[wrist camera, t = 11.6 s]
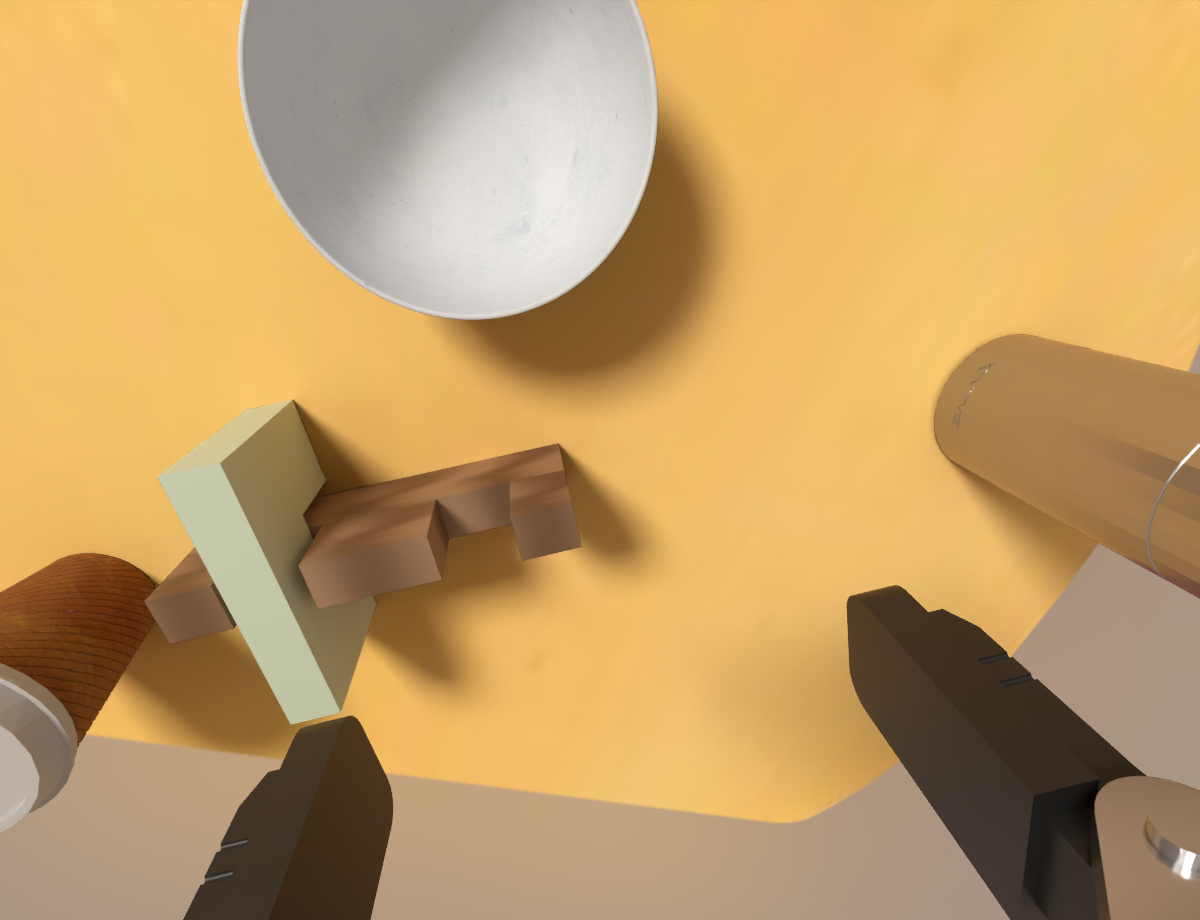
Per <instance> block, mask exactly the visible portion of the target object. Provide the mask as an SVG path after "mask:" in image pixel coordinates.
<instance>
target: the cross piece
mask: <svg viewBox="0 0 1200 920" xmlns="http://www.w3.org/2000/svg"><path fill="white" fill-rule="evenodd" d="M157 477H158V479H159V481H160V483H161V485H162V486H163V488H164V490H165V492H166V494H167V496H168V498H169V499H170V501H171V503H172V505H173V507H174V509H175V511H176V512H177V514H178V516H179V518H180V520H181V522H182V524H183V525H184V527H185V529H186V531H187V533H188V535H189V537H190V538H191V540H192V542H193V544H194V546H195V548H196V550H197V551H198V553H199V555H200V557H201V559H202V561H203V563H204V564H205V566H206V568H207V570H208V572H209V574H210V576H211V577H212V579H213V581H214V583H215V585H216V587H217V589H218V590H219V592H220V594H221V596H222V598H223V600H224V602H225V603H226V605H227V607H228V609H229V611H230V613H231V615H232V616H233V618H234V620H235V622H236V624H237V626H238V628H239V629H240V631H241V633H242V635H243V637H244V639H245V641H246V642H247V644H248V646H249V648H250V650H251V652H252V654H253V655H254V657H255V659H256V661H257V663H258V665H259V667H260V668H261V670H262V672H263V674H264V676H265V678H266V680H267V681H268V683H269V685H270V687H271V689H272V691H273V693H274V695H275V696H276V698H277V700H278V702H279V704H280V706H281V708H282V709H283V711H284V713H285V715H286V717H287V719H288V721H289V722H290V724H291V725H292V724H296V723H300V722H304V721H308V720H312V719H316V718H320V717H324V716H328V715H332V714H336V713H341V710H342V707H343V704H344V701H345V698H346V695H347V692H348V689H349V686H350V683H351V680H352V677H353V674H354V671H355V668H356V665H357V662H358V659H359V656H360V653H361V650H362V647H363V644H364V641H365V638H366V635H367V632H368V629H369V626H370V623H371V620H372V617H373V614H374V611H375V608H376V605H377V604H376V601H375V599H374V597H373V596H371V597H366V598H362V599H358V600H354V601H349V602H345V603H341V604H337V605H332V606H328V607H324V608H320V609H318V607H317V605H316V603H315V601H314V599H313V597H312V594H311V592H310V590H309V588H308V586H307V584H306V581H305V579H304V577H303V575H302V573H301V571H300V569H299V564H300V562H301V561H302V559H303V557H304V555H305V554H306V552H307V550H308V549H309V547H310V545H311V544H312V542H313V537H312V535H311V533H310V531H309V528H308V526H307V524H306V522H305V519H304V517H303V514H304V512H305V511H306V509H307V508H308V506H309V505H310V503H311V502H312V500H313V499H314V497H315V496H316V495H317V493H318V492H319V490H320V489H321V487H322V486H323V484H324V483H325V481H326V479H325V477H324V474H323V472H322V470H321V467H320V465H319V462H318V460H317V457H316V455H315V452H314V450H313V448H312V445H311V443H310V440H309V438H308V435H307V433H306V430H305V428H304V426H303V423H302V421H301V418H300V416H299V413H298V411H297V409H296V406H295V404H294V401H293V400H289V401H284V402H280V403H275V404H270V405H265V406H261V407H256V408H251V409H247V410H245V411H244V412H243V413H241V414H240V415H239V416H237V417H236V418H235V419H233V420H232V421H231V422H229V423H228V424H227V425H225V426H224V427H223V428H221V429H220V430H219V431H217V432H216V433H215V434H213V435H212V436H211V437H209V438H208V439H207V440H205V441H204V442H203V443H201V444H200V445H199V446H197V447H196V448H195V449H193V450H192V451H191V452H189V453H188V454H187V455H185V456H184V457H183V458H181V459H180V460H179V461H177V462H176V463H175V464H173V465H172V466H171V467H169V468H168V469H167V470H165V471H164V472H163V473H161V474H160V475H159V476H157Z"/></svg>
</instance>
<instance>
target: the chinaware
mask: <svg viewBox="0 0 1200 920" xmlns="http://www.w3.org/2000/svg"><path fill="white" fill-rule="evenodd" d="M238 77H239V87H240V94H241V101H242V106H243V111H244V116H245V120H246V124H247V128H248V131H249V135H250V138H251V141H252V144H253V147H254V150H255V153H256V155H257V158H258V160H259V163H260V165H261V167H262V170H263V172H264V174H265V176H266V178H267V180H268V182H269V184H270V186H271V188H272V190H273V192H274V193H275V195H276V197H277V199H278V200H279V202H280V203H281V205H282V207H283V208H284V210H285V211H286V213H287V214H288V216H289V217H290V218H291V220H292V221H293V222H294V224H295V225H296V226H297V228H298V229H299V230H300V231H301V233H302V234H303V235H304V236H305V237H306V239H307V240H308V241H309V242H310V243H311V244H312V245H313V246H314V247H315V248H316V249H317V251H318V252H319V253H320V254H322V255H323V256H324V257H325V258H326V259H327V260H328V261H329V262H330V263H331V264H332V265H334V266H335V267H336V268H337V269H338V270H340V271H341V272H342V273H343V274H345V275H346V276H347V277H349V278H350V279H351V280H353V281H354V282H356V283H357V284H359V285H360V286H362V287H364V288H365V289H367V290H368V291H370V292H372V293H374V294H376V295H377V296H379V297H381V298H383V299H385V300H387V301H390V302H392V303H394V304H396V305H399V306H402V307H404V308H407V309H410V310H413V311H416V312H420V313H423V314H427V315H431V316H437V317H442V318H449V319H459V320H485V319H495V318H502V317H507V316H512V315H516V314H520V313H523V312H526V311H529V310H532V309H535V308H538V307H540V306H542V305H545V304H547V303H549V302H551V301H553V300H555V299H557V298H558V297H560V296H562V295H564V294H565V293H567V292H568V291H570V290H571V289H573V288H574V287H576V286H577V285H578V284H580V283H581V282H582V281H583V280H585V279H586V278H587V277H588V276H589V275H590V274H591V273H592V272H594V271H595V270H596V269H597V268H598V267H599V266H600V265H601V264H602V262H603V261H604V260H605V259H606V258H607V257H608V256H609V254H610V253H611V252H612V251H613V249H614V248H615V247H616V245H617V244H618V242H619V241H620V240H621V238H622V236H623V235H624V233H625V232H626V230H627V228H628V227H629V225H630V223H631V221H632V219H633V217H634V215H635V213H636V211H637V209H638V207H639V204H640V202H641V199H642V197H643V194H644V191H645V188H646V185H647V182H648V179H649V175H650V171H651V167H652V163H653V158H654V152H655V146H656V138H657V126H658V94H657V82H656V73H655V67H654V61H653V56H652V51H651V47H650V43H649V39H648V35H647V32H646V28H645V25H644V22H643V19H642V16H641V14H640V11H639V9H638V6H637V4H636V1H635V0H244V1H243V6H242V11H241V17H240V24H239V34H238Z"/></svg>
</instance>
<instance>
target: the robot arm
mask: <svg viewBox="0 0 1200 920" xmlns="http://www.w3.org/2000/svg"><path fill="white" fill-rule="evenodd" d="M934 428H935V434H936V439H937V441H938V444H939V446H940V448H941V450H942V451H943V452H944V453H945V455H946V456H947V457H948V458H949V459H950V460H952V461H953V462H955V463H957V464H958V465H960V466H962V467H963V468H965V469H967V470H969V471H971V472H972V473H974V474H976V475H978V476H980V477H981V478H983V479H985V480H987V481H989V482H991V483H992V484H994V485H996V486H997V487H999V488H1001V489H1002V490H1004V491H1006V492H1008V493H1010V494H1012V495H1013V496H1015V497H1017V498H1019V499H1021V500H1022V501H1024V502H1026V503H1028V504H1030V505H1031V506H1033V507H1035V508H1037V509H1039V510H1040V511H1042V512H1044V513H1046V514H1048V515H1049V516H1051V517H1053V518H1055V519H1057V520H1058V521H1060V522H1062V523H1064V524H1066V525H1067V526H1069V527H1071V528H1073V529H1075V530H1076V531H1078V532H1080V533H1082V534H1084V535H1085V536H1087V537H1089V538H1091V539H1093V540H1094V541H1096V542H1098V543H1100V544H1102V545H1104V546H1106V547H1107V548H1109V549H1111V550H1113V551H1115V552H1116V553H1118V554H1120V555H1122V556H1123V557H1125V558H1127V559H1129V560H1131V561H1133V562H1134V563H1136V564H1138V565H1140V566H1141V567H1143V568H1145V569H1147V570H1149V571H1150V572H1152V573H1154V574H1156V575H1158V576H1159V577H1162V578H1163V579H1165V580H1167V581H1169V582H1171V583H1173V584H1175V585H1176V586H1178V587H1180V588H1182V589H1184V590H1186V591H1187V592H1189V593H1191V594H1193V595H1194V596H1196V597H1198V598H1200V375H1199V374H1195V373H1191V372H1187V371H1182V370H1178V369H1174V368H1169V367H1165V366H1161V365H1157V364H1152V363H1148V362H1144V361H1139V360H1135V359H1131V358H1126V357H1122V356H1118V355H1114V354H1109V353H1105V352H1101V351H1096V350H1092V349H1089V348H1085V347H1080V346H1076V345H1072V344H1067V343H1063V342H1059V341H1054V340H1050V339H1046V338H1041V337H1037V336H1031V335H1024V334H1018V335H1009V336H1005V337H1002V338H999V339H996V340H993V341H991V342H989V343H987V344H985V345H983V346H982V347H980V348H978V349H977V350H976V351H974V352H973V353H972V354H971V355H969V356H968V357H967V358H966V359H965V360H964V361H963V362H962V363H961V364H960V365H959V366H958V367H957V368H956V369H955V370H954V372H953V373H952V375H951V376H950V378H949V379H948V381H947V382H946V384H945V386H944V388H943V390H942V392H941V395H940V397H939V399H938V403H937V407H936V411H935V423H934ZM847 623H848V645H849V666H850V674H851V678H852V682H853V685H854V688H855V691H856V693H857V696H858V698H859V700H860V702H861V704H862V706H863V707H864V709H865V710H866V712H867V713H868V715H869V716H870V718H871V719H872V721H873V722H874V723H875V725H876V726H877V728H878V729H879V731H880V732H881V734H882V735H883V736H884V738H885V739H886V741H887V742H888V744H889V745H890V746H891V748H892V749H893V751H894V752H895V754H896V755H897V757H898V758H899V759H900V761H901V762H902V764H903V765H904V767H905V768H906V770H907V771H908V772H909V774H910V775H911V777H912V778H913V780H914V781H915V782H916V784H917V785H918V787H919V788H920V790H921V791H922V793H923V794H924V796H925V797H926V798H927V800H928V801H929V803H930V804H931V806H932V807H933V809H934V810H935V811H936V813H937V814H938V816H939V817H940V818H941V820H942V821H943V823H944V824H945V826H946V827H947V829H948V830H949V832H950V833H951V834H952V836H953V837H954V839H955V840H956V842H957V843H958V845H959V846H960V847H961V849H962V850H963V852H964V853H965V855H966V856H967V858H968V859H969V860H970V862H971V863H972V865H973V866H974V868H975V869H976V870H977V872H978V873H979V875H980V876H981V878H982V879H983V880H984V882H985V883H986V885H987V886H988V888H989V889H990V891H991V892H992V893H993V895H994V896H995V898H996V899H997V901H998V902H999V904H1000V905H1001V907H1002V908H1003V909H1004V911H1005V912H1006V914H1007V915H1008V917H1009V918H1010V920H1200V790H1197V789H1194V788H1192V787H1189V786H1187V785H1184V784H1181V783H1177V782H1174V781H1171V780H1166V779H1161V778H1156V777H1147V776H1146V775H1145V774H1143V773H1142V772H1141V771H1140V770H1139V769H1137V768H1136V767H1135V766H1134V765H1133V764H1131V763H1130V762H1129V761H1128V760H1127V759H1126V758H1125V757H1123V755H1121V754H1120V753H1119V752H1118V751H1117V750H1116V749H1115V748H1114V747H1112V746H1111V745H1110V744H1109V743H1108V742H1107V741H1106V740H1105V739H1104V738H1102V737H1101V736H1100V735H1099V734H1098V733H1097V732H1095V730H1093V729H1092V728H1091V727H1090V726H1089V725H1088V724H1087V723H1086V722H1085V721H1083V720H1082V719H1081V718H1080V717H1079V716H1078V715H1076V713H1074V712H1073V711H1072V710H1071V709H1070V708H1069V707H1068V706H1067V705H1066V704H1064V703H1063V702H1062V701H1061V700H1060V699H1059V698H1058V697H1057V696H1055V695H1054V694H1053V693H1052V692H1051V691H1050V690H1049V689H1048V688H1047V687H1045V686H1044V685H1043V684H1042V683H1041V682H1040V681H1039V680H1038V679H1036V680H1034V679H1033V678H1032V676H1031V673H1030V672H1029V671H1027V670H1026V669H1025V668H1024V667H1023V666H1022V665H1021V664H1020V663H1019V662H1017V661H1016V660H1015V659H1014V658H1013V657H1011V658H1010V657H1009V656H1008V655H1007V652H1006V651H1005V650H1004V649H1003V648H1002V647H1001V646H1000V645H998V644H997V643H996V642H995V641H994V640H993V639H992V638H991V637H990V636H988V635H987V634H986V633H985V632H984V631H983V630H982V629H981V628H979V627H978V626H976V625H974V624H972V623H970V622H968V621H966V620H964V619H962V618H960V617H958V616H956V615H954V614H952V613H950V612H948V611H946V610H944V609H940V610H936V611H932V612H927V611H926V610H925V609H924V608H923V607H922V606H921V605H920V604H919V603H918V602H917V601H916V600H915V599H914V598H913V597H912V596H911V595H910V594H909V593H908V592H907V591H906V590H905V589H903V588H902V587H900V586H897V585H893V586H889V587H885V588H881V589H877V590H873V591H869V592H865V593H860V594H856V595H852V596H850V597H849V598H848V601H847ZM392 817H393V798H392V792H391V787H390V784H389V781H388V779H387V777H386V774H385V772H384V770H383V768H382V766H381V764H380V762H379V760H378V758H377V756H376V754H375V752H374V750H373V748H372V746H371V744H370V742H369V740H368V738H367V736H366V734H365V732H364V730H363V727H362V725H361V724H360V722H359V721H358V719H357V718H355V717H354V716H347V717H343V718H339V719H335V720H331V721H327V722H323V723H319V724H314V725H310V726H306V727H303V728H301V729H300V730H299V731H298V732H297V734H296V735H295V737H294V739H293V741H292V743H291V746H290V748H289V750H288V752H287V754H286V757H285V759H284V761H283V763H282V765H281V768H280V769H279V770H275V771H271V772H268V773H267V774H266V775H265V777H264V778H263V779H262V780H261V781H260V783H259V784H258V785H257V786H256V788H255V789H254V790H253V791H252V792H251V793H250V794H249V796H248V797H247V798H246V800H244V802H243V803H242V804H241V805H240V807H239V808H238V810H237V812H236V814H235V816H234V818H233V820H232V822H231V825H230V826H229V828H228V830H227V832H226V834H225V836H224V838H223V840H222V842H221V851H220V852H216V854H215V857H214V859H213V861H212V863H211V865H210V867H209V869H208V871H207V873H206V875H205V883H204V884H203V885H200V887H199V889H198V891H197V893H196V895H195V897H194V899H193V901H192V903H191V905H190V907H189V909H188V911H187V913H186V915H185V917H184V919H183V920H370V919H371V915H372V910H373V905H374V901H375V897H376V892H377V888H378V883H379V879H380V875H381V870H382V866H383V861H384V857H385V853H386V848H387V844H388V839H389V835H390V831H391V826H392V819H393V818H392Z"/></svg>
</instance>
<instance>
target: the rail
mask: <svg viewBox="0 0 1200 920" xmlns="http://www.w3.org/2000/svg"><path fill="white" fill-rule="evenodd" d="M303 517H304V519H305V522H306V524H307V526H308V528H309V531H310V533H311V535H312V537H313V542H312V544H311V545H310V547H309V549H308V550H307V552H306V554H305V555H304V557H303V559H302V561H301V562H300V564H299V569H300V571H301V573H302V575H303V577H304V579H305V581H306V584H307V586H308V588H309V590H310V592H311V594H312V597H313V599H314V601H315V603H316V605H317V607H318V609H320V608H324V607H328V606H332V605H337V604H341V603H345V602H349V601H354V600H358V599H362V598H366V597H371V596H375V595H379V594H383V593H388V592H392V591H396V590H400V589H405V588H409V587H413V586H417V585H422V584H426V583H430V582H434V581H439V580H442V575H443V570H444V564H445V558H446V553H447V547H448V541H449V538H454V537H458V536H462V535H467V534H471V533H475V532H480V531H484V530H488V529H492V528H497V527H501V526H505V525H510V524H512V526H513V529H514V533H515V536H516V540H517V544H518V547H519V551H520V555H521V558H522V561H524V560H528V559H532V558H537V557H541V556H545V555H549V554H554V553H558V552H562V551H566V550H571V549H575V548H579V547H582V546H581V541H580V537H579V532H578V528H577V524H576V519H575V515H574V510H573V506H572V501H571V497H570V493H569V488H568V484H567V479H566V475H565V471H564V466H563V462H562V457H561V453H560V449H559V444H554V445H549V446H545V447H540V448H536V449H531V450H527V451H522V452H518V453H513V454H509V455H505V456H500V457H496V458H491V459H487V460H482V461H478V462H473V463H469V464H464V465H460V466H455V467H451V468H446V469H442V470H437V471H433V472H428V473H424V474H419V475H415V476H411V477H406V478H402V479H397V480H393V481H388V482H384V483H379V484H375V485H370V486H366V487H361V488H357V489H352V490H348V491H343V492H339V493H334V494H330V495H325V496H321V497H316V498H314V499H313V500H312V502H311V503H310V505H309V506H308V508H307V509H306V511H305V512H304V514H303ZM144 602H145V604H146V605H147V607H148V609H149V610H150V612H151V614H152V615H153V617H154V618H155V620H156V622H157V623H158V625H159V627H160V628H161V630H162V632H163V633H164V635H165V636H166V638H167V640H168V641H169V643H170V644H171V643H175V642H179V641H184V640H188V639H192V638H196V637H201V636H205V635H209V634H213V633H218V632H222V631H226V630H230V629H234V628H235V626H236V625H237V624H236V622H235V620H234V618H233V616H232V615H231V613H230V611H229V609H228V607H227V605H226V603H225V602H224V600H223V598H222V596H221V594H220V592H219V590H218V589H217V587H216V585H215V583H214V581H213V579H212V577H211V576H210V574H209V572H208V570H207V568H206V566H205V564H204V563H203V561H202V559H201V557H200V555H199V553H198V551H197V550H196V548H194V549H193V550H192V551H191V552H190V553H189V554H188V555H187V556H186V557H185V558H184V559H183V560H182V561H181V563H180V564H179V565H178V566H177V567H176V568H175V569H174V570H173V571H172V572H171V573H170V574H169V575H168V576H167V578H166V579H165V580H164V581H163V582H162V583H161V584H160V585H159V586H158V587H157V588H156V589H155V590H154V591H153V592H152V594H151V595H150V596H149V597H148V598H147V599H146V600H145V601H144Z"/></svg>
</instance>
